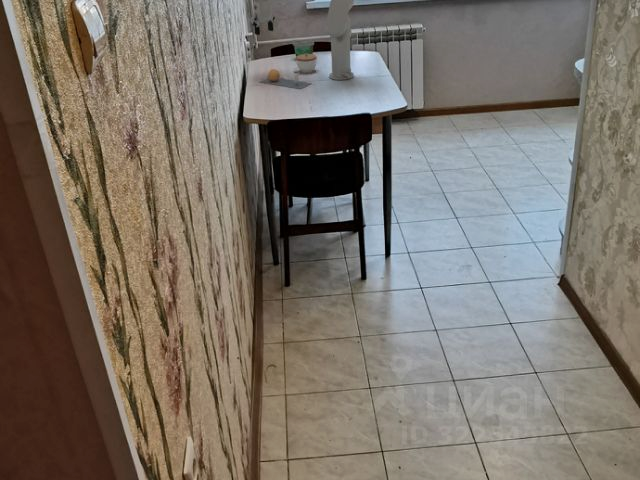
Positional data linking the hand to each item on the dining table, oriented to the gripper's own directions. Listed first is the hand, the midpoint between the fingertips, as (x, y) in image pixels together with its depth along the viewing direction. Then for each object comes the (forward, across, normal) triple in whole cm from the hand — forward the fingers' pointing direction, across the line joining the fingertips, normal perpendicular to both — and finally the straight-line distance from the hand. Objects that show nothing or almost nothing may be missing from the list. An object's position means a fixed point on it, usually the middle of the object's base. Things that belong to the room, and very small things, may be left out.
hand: (264, 32), depth 339 cm
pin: (+21, -6, -26) cm, 34 cm away
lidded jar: (+21, +15, -15) cm, 30 cm away
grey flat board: (+21, -6, -19) cm, 29 cm away
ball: (+18, -7, -12) cm, 23 cm away
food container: (+21, +30, +2) cm, 37 cm away
